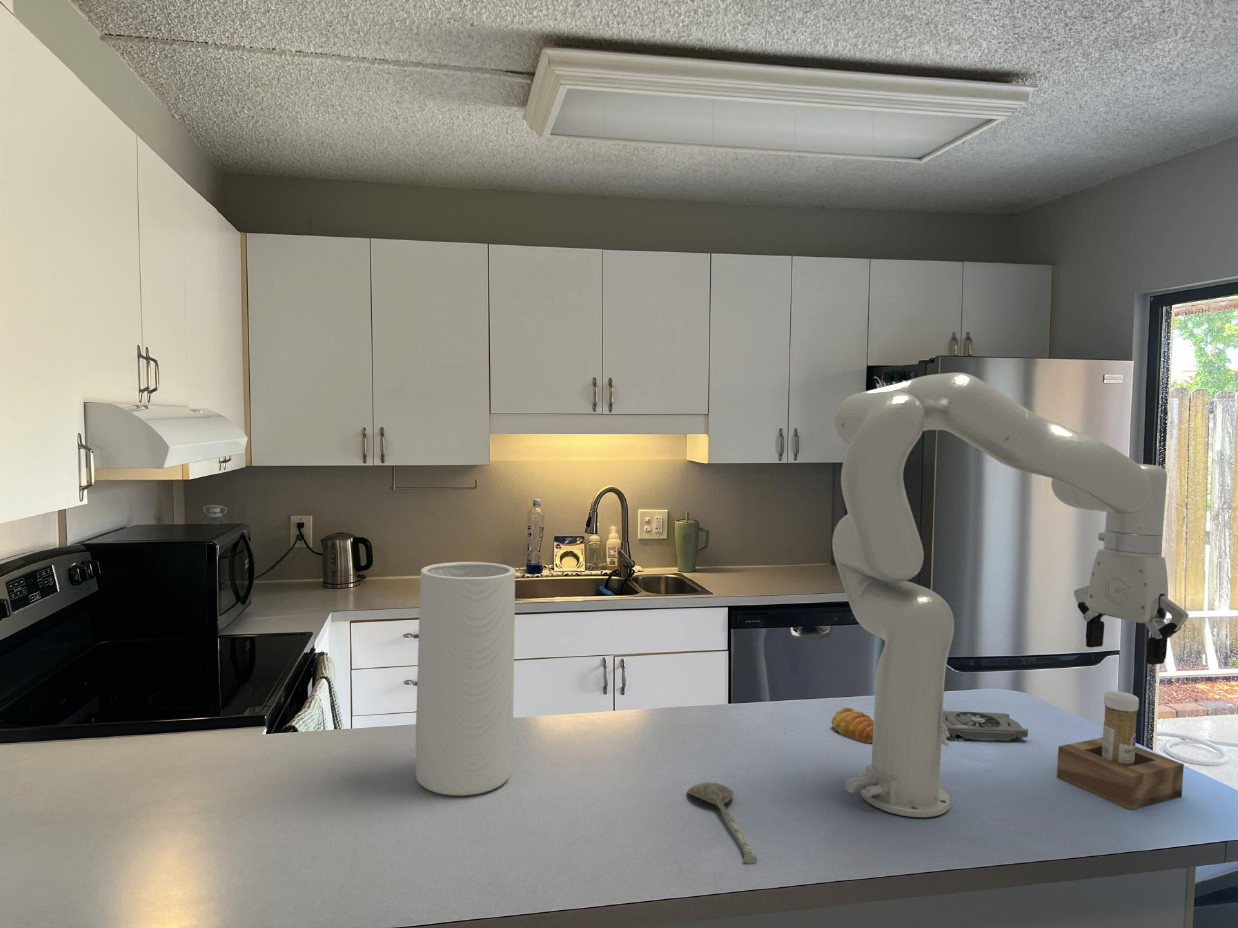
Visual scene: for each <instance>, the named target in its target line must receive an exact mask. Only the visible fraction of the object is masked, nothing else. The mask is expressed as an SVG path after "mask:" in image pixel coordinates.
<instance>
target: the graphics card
mask: <svg viewBox="0 0 1238 928" xmlns="http://www.w3.org/2000/svg"><path fill="white" fill-rule="evenodd" d="M1028 733H1029V729H1028V728H1023V727H1022V726H1021V724H1020V723H1019V722H1017V721H1016V720H1014V719H1012V718H1010V714H1009V713H1003V712H983V711H961V710H959V711H957V710H955V711H954V710H953V711H951V710H943V721H942V741H943V742H942V741H941V742H942V743H943V744H944V745H945V746H946V747H949V741H948V739H949V740H950V741H952V740H957V738H951V737H956V736H957V735H958V736H960V737H958V739H959V740H960V741H959V740H958V741H959V742H965V739H973V740H972V741H975V740H974V739H977V740H976V741H997V740H999V742H1000V740H1001V742H1002V740H1003V741H1004V742H1010V741H1011V740H1014V739H1016V738H1028V735H1029V734H1028ZM949 735H950V736H949ZM961 736H962V737H963V738H962V737H961ZM947 737H948V738H947ZM982 739H983V740H982Z"/></svg>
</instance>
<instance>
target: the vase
mask: <svg viewBox="0 0 1238 928" xmlns="http://www.w3.org/2000/svg"><path fill="white" fill-rule="evenodd" d="M419 582H420V584H419V585H420V586H419V587H420V588H419V611H418V612H419V613H418V615H419V616H418V617H419V619H418V647H417V648H418V649H417V678H416V679H417V681H416V708H415V710H416V711H415V713H416V715H415V716H416V717H415V719H416V720H415V746H414V747H415V751H414V752H415V777H416V781H417V782H418V784H419V785H420V786H422V787H423V788H425V789H426V790H428V791H430V792H432V793H436V794H439V795H444V796H445V795H446V796H459V797H460V796H461V797H462V796H463V797H464V796H472V795H479V794H484V793H487V792H490V791H492V790H494V789H497V788H500V786H503V784H504V783H505V782H507V781H508V779H509V778H510V776H511V773H512V765H513V748H514V747H513V746H514V745H513V744H514V743H513V742H514V694H515V693H514V692H515V691H514V686H515V684H514V683H515V681H514V680H515V625H516V624H515V618H516V615H515V613H516V611H515V610H516V607H515V605H516V570H515V568H514V567H512V566H509V565H507V564H506V565H505V564H501V563H493V562H483V561H458V562H457V561H455V562H444V563H443V562H442V563H436V564H429V565H427V566H424V567H422V568H421V570H420V581H419Z"/></svg>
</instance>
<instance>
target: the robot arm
mask: <svg viewBox="0 0 1238 928" xmlns="http://www.w3.org/2000/svg"><path fill="white" fill-rule="evenodd" d="M833 421H834V422H833V423H834V428H835V432H836V435H838V437H839V439H840V440H841V441H842V442H843V443H845V444H846V445H847V446H848V449H847V450H846V453H845V456H844V460H843V463H842V468H841V474H840V485H841V490H842V491H841V492H842V497H843V499H844V500H843V501H844V504H845V508H846V510H847V511H846V512H847V514H845V515H844V516H843V517H842V518H841V519H840V520H839V521H838V522H837V525H836V526H835V528H834V531H833V535H832V540H831V541H832V552H833V558H834V561H835V564H836V568H837V570H838V574H839V577H840V580H841V583H842V585H843V589H844V591H845V595H846V598H847V601H848V604H849V606H850V610H851V612H852V614H853V616H854V617H855V620H856V621H857V622H858V624H859V625H860V626H861V627H862V628H863V629H864V630H866V631H867V632H868V633H870V634H871V635H872V634H873V635H874V636H876V637H878V638H881V640H883V641H884V647H883V649H882V652H881V654H880V657H879V660H878V662H877V666H876V671H875V681H874V703H873V704H874V706H873V707H874V708H873V721H874V724H873V742H872V747H871V748H872V750H871V752H872V754H871V764H870V765H866V766H865V773H862V775H860V777H859V776H854V777H850V778H846V780H845V783H844V786H845V789H846V791H847V792H849V794H850V793H858V792H859V793H860V796H861V797H862V798H863V800H864V801H866V802H867V803H868V804H870V805H872V806H873V807H875V808H876V809H879V810H881V811H885V812H886V813H889V814H894V815H899V816H903V817H911V818H932V817H937V816H940V815H943V814H945V813H946V812H947V811H949V809H950V807H951V806H950V805H951V798H950V795H949V794H948V792H947V791H945V790H944V789H943V787H941V786H940V776H941V760H942V759H941V758H942V757H941V756H942V755H941V754H942V721H943V711H944V699H945V698H944V695H945V682H946V681H945V680H946V671H947V664H948V663H947V662H948V659H949V658H948V657H949V653H950V649H951V647H952V642H953V638H954V632H955V618H954V615H953V612H952V609H951V607H950V605H949V604H948V602H947V601H946V600H945V599H944V598H943V597H942V596H941V595H940V594H938V593H936V592H935V591H933V590H931V589H930V588H927V587H924V586H923V585H919V584H917V583H914V582H910V581H909V580H912V578H914V577H915V576H916V575H918V573H919V572H920V571H921V568H922V567H923V565H924V564H923V563H924V547H923V544H922V540H921V537H920V533H919V531H918V528H917V525H916V522H915V518H914V515H913V512H912V510H911V506H910V503H909V500H908V497H907V492H906V488H905V483H904V468H905V465H906V461H907V459H908V457H909V455H910V453H911V452H912V450H913V448H914V446H915V445H916V444H917V442H918V441H919V439H920V438H921V436H922V434H923V432H925V431H929V430H930V431H931V430H932V431H937V430H938V431H946V432H949V433H951V434H952V435H954V436H956V437H957V438H959V439H960V440H963V441H965V442H966V443H967V444H970V445H971V446H973V448H976V449H978V450H979V451H981V452H982V453H984V454H986V455H987V456H989V457H991V458H993V459H994V460H996V461H997V462H998V463H1000V464H1003V465H1004V466H1006V467H1007V466H1008V467H1010V468H1013V469H1015V470H1018V471H1021V472H1025V473H1028V474H1034V475H1038V476H1042V477H1047V478H1050V479H1051V481H1050V482H1051V490H1052V493H1053V494H1054V496H1055V497H1056V498H1057V499H1058V500H1059V501H1060V502H1061V503H1062V504H1064V505H1066V506H1069V507H1071V508H1077V509H1081V510H1088V511H1099V512H1105V514H1106V515H1105V516H1106V517H1105V526H1104V532H1099V533H1098V535H1097V539H1098V541H1101V542H1103V548H1099V549H1098V550H1097V552H1096V555H1095V558H1094V561H1093V564H1092V565H1093V566H1092V568H1091V573H1090V578H1089V583H1088V585H1086V586H1083V587H1080V588H1077V589H1074V590H1073V595H1074V599H1075V601H1076V603H1077V609H1078V610H1079V611H1080V612H1081V615H1082V619H1083V620H1084V621H1085V622H1086V626H1085V627H1086V628H1085V647H1087V648H1090V649H1091V648H1099V647H1103V646H1104V634H1105V633H1104V632H1105V621H1103V620H1102V619H1103V618H1104V617H1105V616H1108V617H1112V618H1116V619H1120V620H1124V621H1128V622H1132V623H1133V622H1134V623H1138V624H1145V626H1146V627H1147V629H1148V631H1149V632H1150V633H1151V635H1152V637H1151V636H1149V637H1148V639H1147V647H1146V648H1147V650H1146V661H1145V662H1146V663H1147V664H1148V665H1150V666H1151V665H1155V666H1156V665H1162V664H1164V662H1165V660H1166V658H1167V651H1168V639H1170V638H1172V637H1173V635H1174V634H1176V633H1177V632H1179V631H1181V630H1182V626H1183V625H1184V624H1185V623H1186V621H1188V618H1189V613H1188V612H1187V611H1185V609H1183V608H1181V606H1179V605H1177V604H1176V603H1175V602H1174V601H1172V600H1171V599H1169V581H1168V571H1167V570H1168V569H1167V563H1166V559H1165V557H1164V556H1162V549H1163V548H1162V547H1163V536H1164V535H1163V533H1164V524H1165V523H1164V522H1165V509H1166V498H1167V497H1166V496H1167V485H1168V473H1167V470H1166V469H1165V468H1163V467H1162V466H1160V465H1156V464H1146V463H1144V464H1142V463H1137V462H1136V461H1135V460H1133V459H1132V458H1130V457H1129V456H1127V455H1125V454H1124V453H1122V452H1121V451H1119V450H1117V449H1116V448H1114V447H1112V446H1110V445H1109V444H1107V443H1105V442H1103V441H1101V440H1099V439H1097V438H1094V437H1093V436H1092V437H1091V436H1090V435H1086V434H1084V433H1082V432H1079V431H1076V430H1074V429H1072V428H1070V427H1067V426H1064V425H1062V424H1060V423H1058V422H1054V421H1053V420H1050V419H1047V418H1044V417H1042V416H1040V415H1038V414H1036V413H1034V412H1033V411H1031V410H1030V409H1028V408H1027V407H1025V406H1023V405H1022V404H1021V403H1018V402H1016V401H1015V400H1013V399H1012V398H1010V397H1009V396H1007V395H1005V394H1003V392H1000V391H999V390H998V389H996V388H994V387H993V386H991V385H990V384H988V383H987V382H984V381H983V380H981V379H980V378H978V377H976V376H975V375H971V374H968V373H965V372H949V373H948V372H947V373H945V372H944V373H936V374H929V375H923V376H919V377H915V378H912V379H908V380H904V381H901V382H897V383H893V384H890V385H885V386H882V387H879V388H873V389H869V390H866V391H862V392H858V393H855V394H852V395H850V396H849V397H846V399H844V400H843V401H842V402H841V403H840V404H839V406H838V407H837V409H836V412H835V415H834V420H833ZM1167 613H1168V614H1169V615H1170V617H1171V618H1170V621H1169V622H1167V623H1166V621H1165V620H1166V617H1167V615H1168V614H1167Z"/></svg>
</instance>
